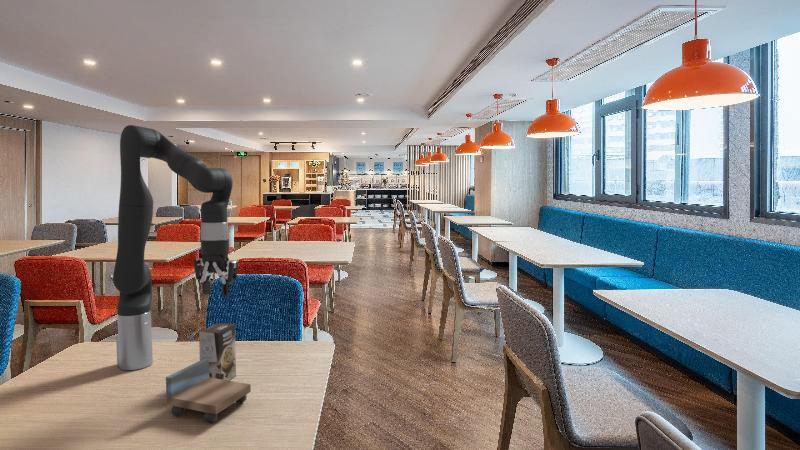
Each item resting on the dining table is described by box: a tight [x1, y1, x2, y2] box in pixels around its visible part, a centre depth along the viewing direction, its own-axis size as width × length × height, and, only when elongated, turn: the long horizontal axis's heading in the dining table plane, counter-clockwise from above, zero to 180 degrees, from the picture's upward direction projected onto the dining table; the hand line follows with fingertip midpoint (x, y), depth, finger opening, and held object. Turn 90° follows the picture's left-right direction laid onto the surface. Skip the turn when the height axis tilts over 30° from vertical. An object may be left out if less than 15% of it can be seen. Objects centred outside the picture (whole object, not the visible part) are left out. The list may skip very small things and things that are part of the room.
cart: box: [165, 359, 252, 425], centre depth 118 cm, size 15×13×10 cm
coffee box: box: [198, 322, 237, 381], centre depth 135 cm, size 9×6×16 cm
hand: (216, 295), depth 134 cm, fingers open, 6 cm apart
